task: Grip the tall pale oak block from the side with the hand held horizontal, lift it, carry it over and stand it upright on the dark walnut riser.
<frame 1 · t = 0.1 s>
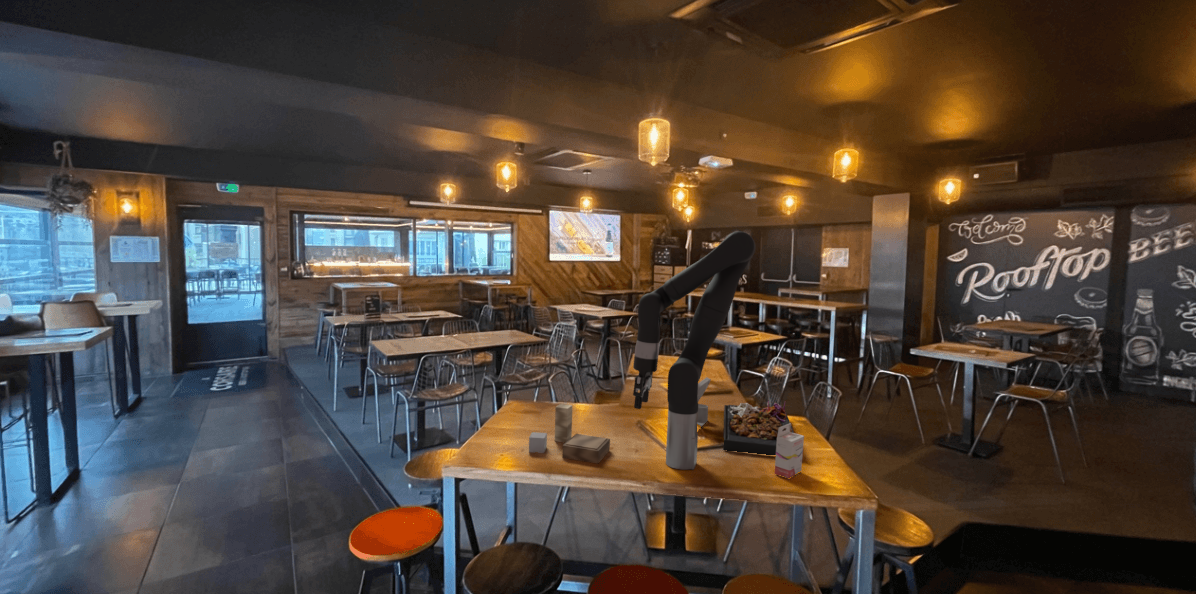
hand: (641, 405, 165), 17 cm above the table, tool pointing down, fingers open, 8 cm apart
ink cartridge box: (788, 474, 158), on the table
walnut riser: (586, 453, 168), on the table
stone cube: (537, 450, 170), on the table
phone holder: (691, 424, 203), on the table
oak block: (563, 439, 180), on the table
food platter: (757, 436, 194), on the table
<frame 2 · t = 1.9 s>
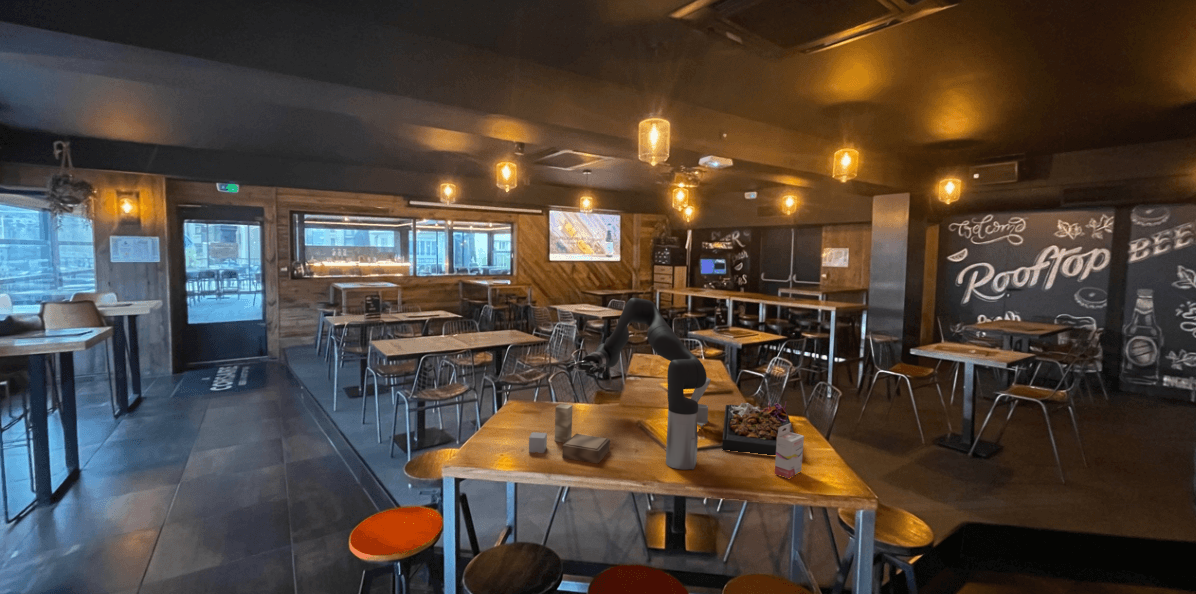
hand: (579, 370, 187), 23 cm above the table, tool horizontal, fingers open, 8 cm apart
nothing on the table moved.
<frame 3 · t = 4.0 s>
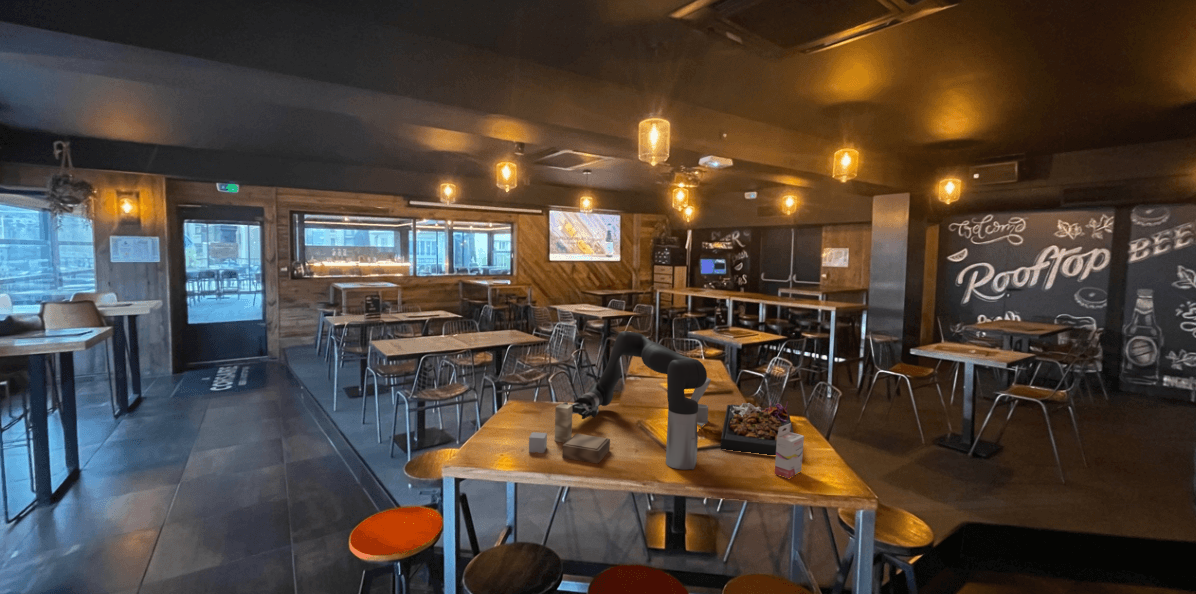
hand: (571, 414, 187), 7 cm above the table, tool horizontal, fingers open, 8 cm apart
nothing on the table moved.
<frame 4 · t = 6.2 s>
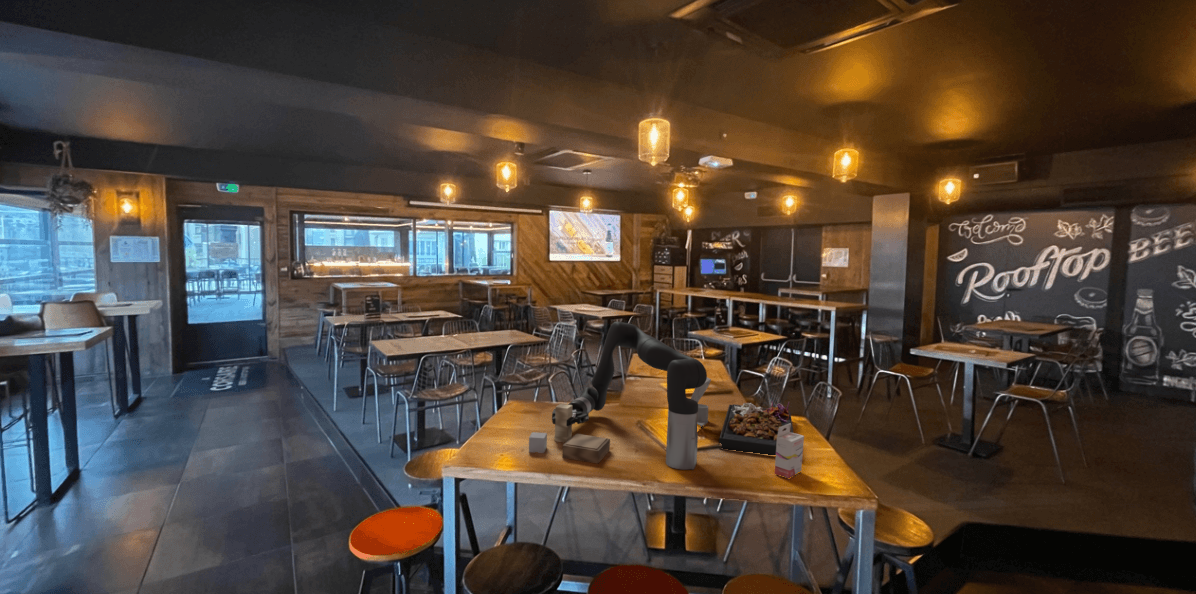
hand: (560, 422, 177), 7 cm above the table, tool horizontal, fingers closed on oak block, 4 cm apart
oak block: (563, 439, 180), on the table, touching gripper
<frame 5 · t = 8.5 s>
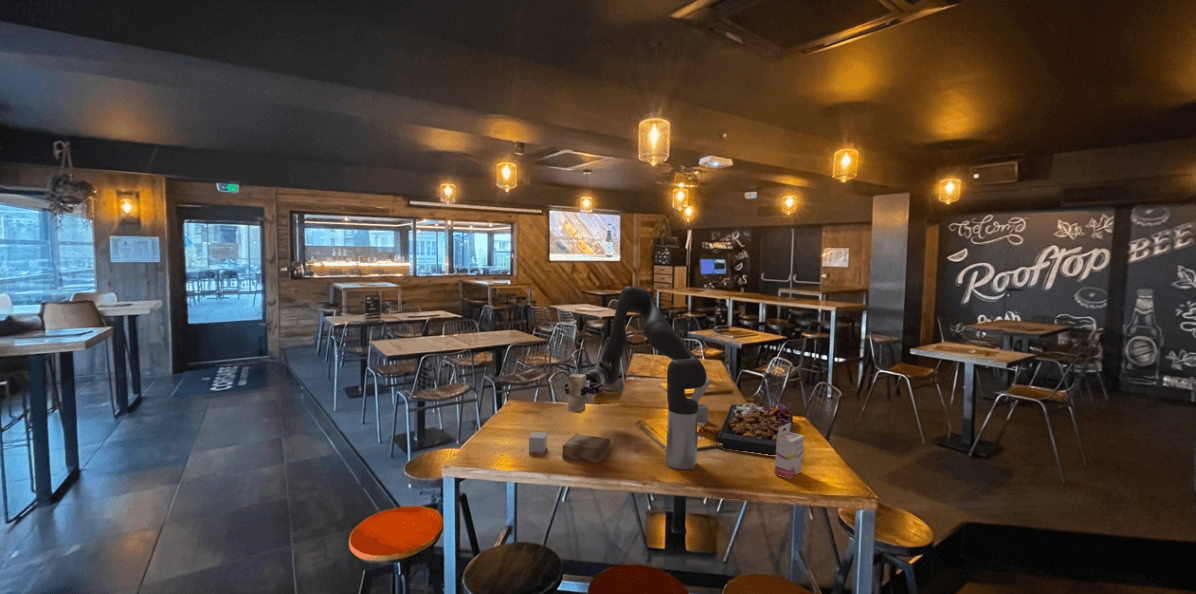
hand: (574, 392, 169), 20 cm above the table, tool horizontal, fingers closed on oak block, 4 cm apart
oak block: (576, 410, 172), point 13 cm above the table, touching gripper
when the fingers open (12 cm above the table, at t = 10.9 s): oak block stays where it is, resting on walnut riser.
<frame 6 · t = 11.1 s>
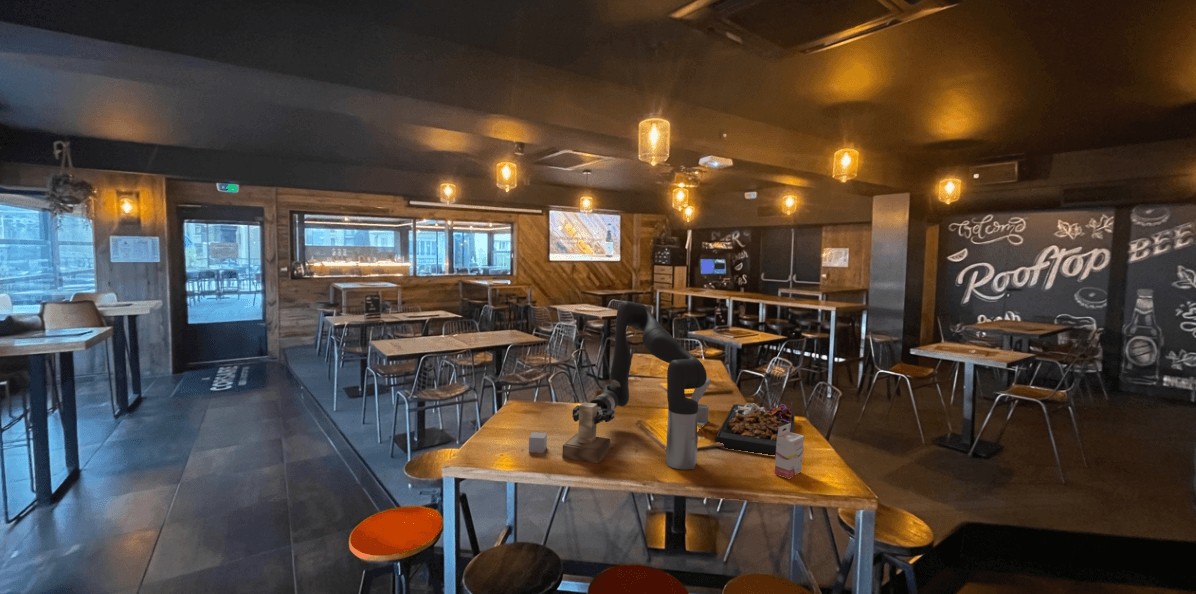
hand: (585, 419, 165), 12 cm above the table, tool horizontal, fingers open, 6 cm apart
oak block: (587, 440, 168), point 4 cm above the table, touching walnut riser
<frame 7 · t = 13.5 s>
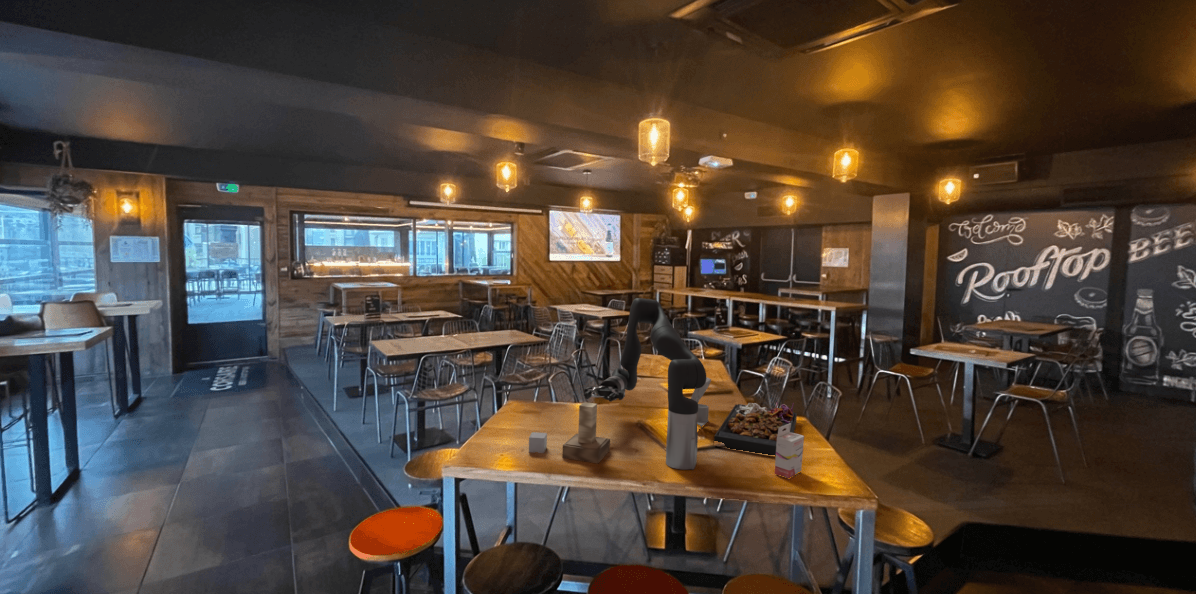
hand: (598, 397, 178), 16 cm above the table, tool horizontal, fingers open, 8 cm apart
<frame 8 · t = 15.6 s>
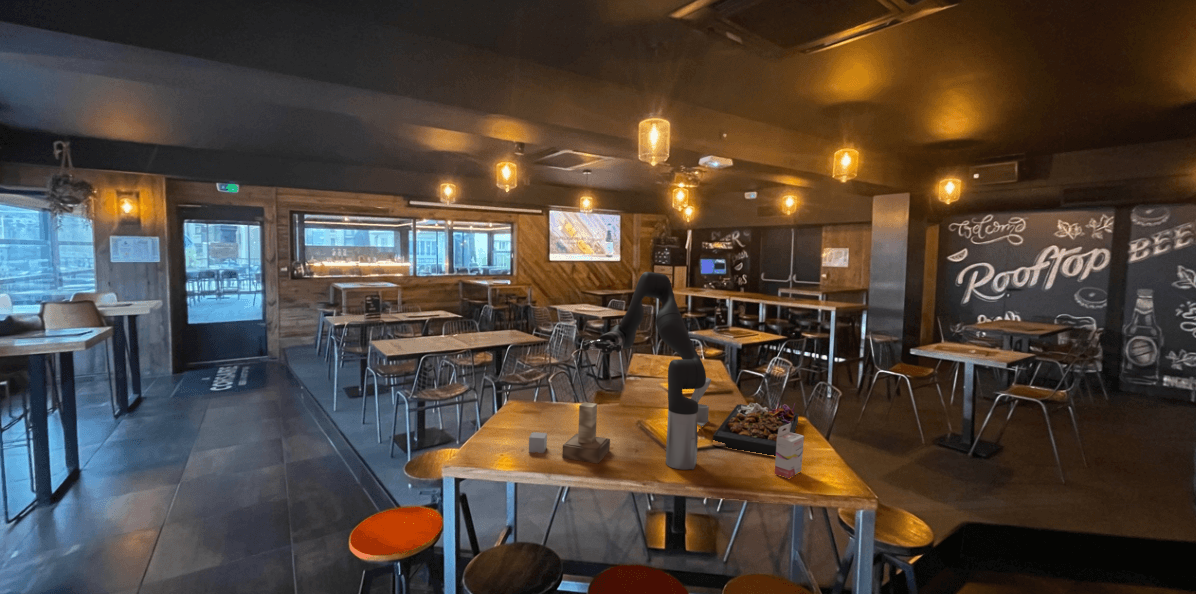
hand: (596, 348, 181), 32 cm above the table, tool horizontal, fingers open, 8 cm apart
at the end: oak block inside the target area on the walnut riser (0.1 cm from its centre), point 4.3 cm above the walnut riser's base; oak block tilted 0°; the gripper is holding nothing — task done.
